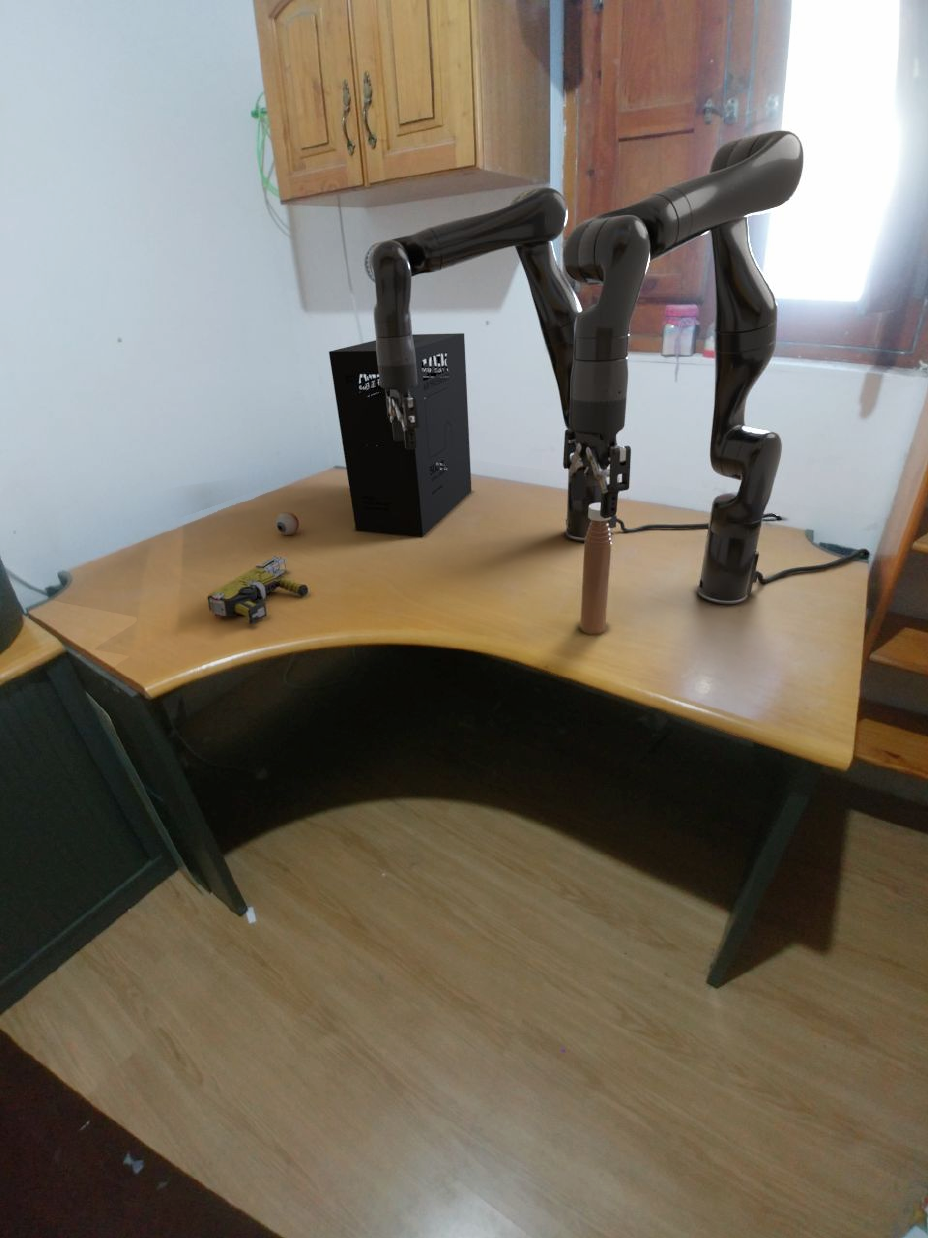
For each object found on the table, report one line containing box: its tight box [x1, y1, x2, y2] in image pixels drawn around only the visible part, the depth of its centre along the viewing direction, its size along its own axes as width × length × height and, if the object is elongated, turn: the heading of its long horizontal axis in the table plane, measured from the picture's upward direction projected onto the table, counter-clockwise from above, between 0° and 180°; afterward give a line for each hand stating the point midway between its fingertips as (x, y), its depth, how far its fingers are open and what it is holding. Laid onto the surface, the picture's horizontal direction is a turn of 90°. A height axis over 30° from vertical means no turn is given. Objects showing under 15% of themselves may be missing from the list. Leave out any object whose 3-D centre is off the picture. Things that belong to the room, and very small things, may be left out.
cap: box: [588, 503, 611, 521], centre depth 103 cm, size 4×4×2 cm
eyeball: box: [275, 511, 300, 536], centre depth 163 cm, size 6×6×6 cm
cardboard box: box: [328, 332, 472, 537], centre depth 166 cm, size 38×20×45 cm, turn 159°
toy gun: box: [206, 555, 309, 625], centre depth 131 cm, size 5×24×15 cm
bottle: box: [579, 520, 613, 635], centre depth 109 cm, size 5×5×24 cm
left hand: (404, 444), depth 126 cm, fingers open, 8 cm apart
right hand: (592, 507), depth 90 cm, fingers open, 8 cm apart
